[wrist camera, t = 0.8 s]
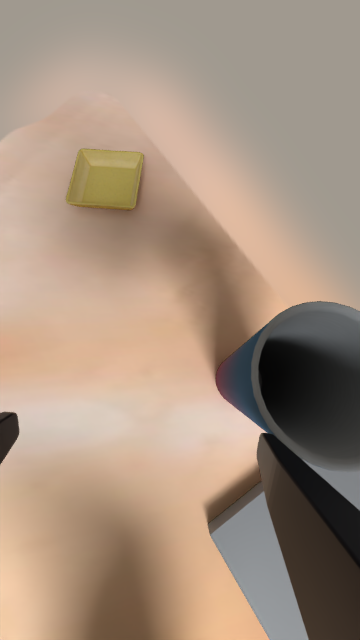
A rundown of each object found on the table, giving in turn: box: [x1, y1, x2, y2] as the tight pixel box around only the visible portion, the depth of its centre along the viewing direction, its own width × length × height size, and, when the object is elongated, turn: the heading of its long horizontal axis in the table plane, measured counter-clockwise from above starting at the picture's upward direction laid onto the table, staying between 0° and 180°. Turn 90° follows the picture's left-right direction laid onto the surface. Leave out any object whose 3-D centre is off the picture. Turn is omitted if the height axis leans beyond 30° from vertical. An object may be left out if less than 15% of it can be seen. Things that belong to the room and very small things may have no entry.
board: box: [208, 458, 360, 640], centre depth 19 cm, size 20×16×2 cm
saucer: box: [66, 149, 144, 210], centre depth 30 cm, size 9×9×2 cm
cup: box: [216, 301, 360, 472], centre depth 17 cm, size 7×7×15 cm
